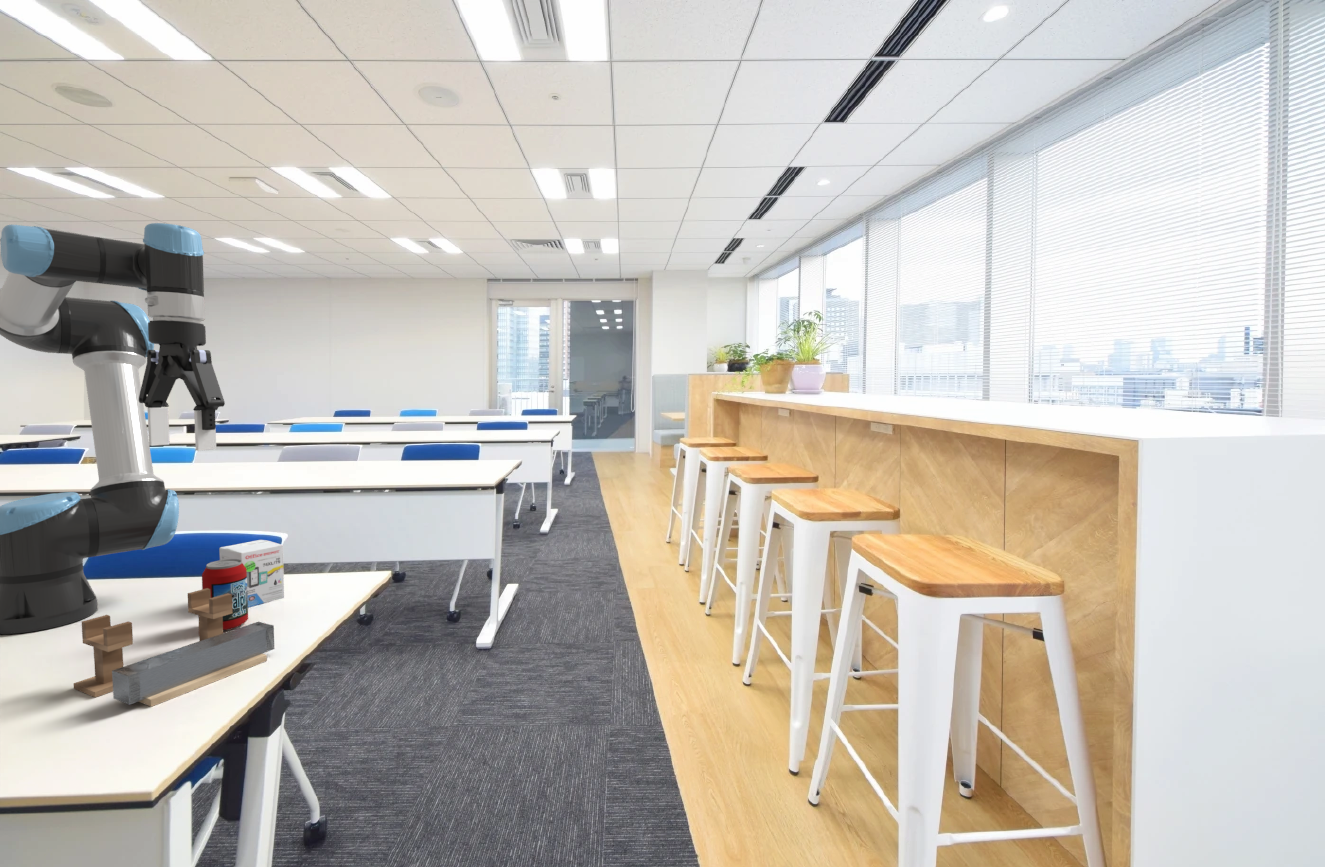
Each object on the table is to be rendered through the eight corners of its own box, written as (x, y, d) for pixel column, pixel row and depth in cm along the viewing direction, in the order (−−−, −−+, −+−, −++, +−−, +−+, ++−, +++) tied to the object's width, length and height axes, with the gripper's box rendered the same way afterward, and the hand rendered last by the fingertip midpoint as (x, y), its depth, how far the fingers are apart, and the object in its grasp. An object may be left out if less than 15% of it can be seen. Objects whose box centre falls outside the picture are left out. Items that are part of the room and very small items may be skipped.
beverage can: (225, 635, 109) (222, 569, 108) (194, 631, 110) (191, 566, 110) (257, 621, 116) (255, 559, 115) (227, 618, 117) (225, 556, 116)
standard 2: (179, 651, 102) (177, 596, 101) (218, 638, 108) (216, 585, 107) (204, 659, 99) (202, 602, 99) (243, 645, 105) (241, 591, 104)
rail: (113, 698, 85) (112, 670, 84) (259, 644, 103) (258, 621, 103) (129, 704, 83) (127, 676, 83) (274, 649, 101) (273, 625, 101)
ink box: (241, 610, 121) (239, 552, 121) (219, 602, 126) (217, 546, 125) (285, 597, 129) (284, 543, 128) (263, 590, 133) (262, 538, 132)
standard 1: (71, 687, 89) (68, 625, 89) (121, 671, 95) (118, 611, 94) (97, 698, 87) (93, 633, 86) (146, 680, 92) (143, 619, 91)
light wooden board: (127, 697, 87) (127, 690, 87) (243, 653, 101) (243, 647, 101) (151, 706, 84) (150, 699, 84) (266, 660, 99) (266, 654, 99)
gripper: (109, 320, 103) (115, 444, 105) (196, 316, 93) (201, 454, 95) (160, 324, 110) (165, 441, 112) (247, 321, 100) (251, 450, 101)
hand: (182, 447), depth 103 cm, fingers open, 13 cm apart
